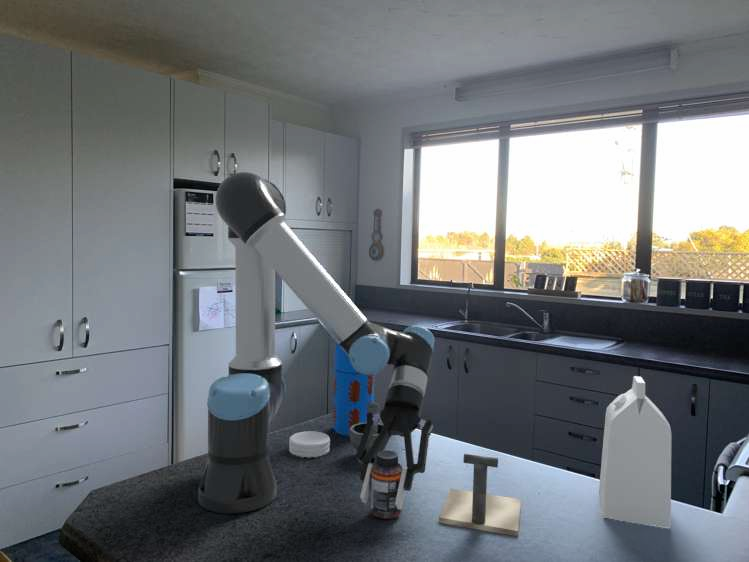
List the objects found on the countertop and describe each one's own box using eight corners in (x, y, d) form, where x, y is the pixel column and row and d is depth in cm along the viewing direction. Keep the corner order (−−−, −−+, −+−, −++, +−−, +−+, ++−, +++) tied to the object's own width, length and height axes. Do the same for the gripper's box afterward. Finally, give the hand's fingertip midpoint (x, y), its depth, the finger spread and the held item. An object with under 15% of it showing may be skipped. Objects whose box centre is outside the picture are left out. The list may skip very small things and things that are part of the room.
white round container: (280, 451, 134) (280, 437, 134) (308, 441, 142) (309, 427, 142) (310, 462, 128) (310, 447, 128) (338, 450, 136) (338, 436, 136)
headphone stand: (439, 523, 100) (441, 453, 100) (450, 493, 113) (453, 430, 112) (517, 537, 96) (520, 464, 96) (521, 504, 109) (523, 439, 108)
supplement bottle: (383, 501, 107) (385, 445, 107) (407, 512, 104) (410, 453, 103) (363, 512, 103) (365, 453, 102) (388, 523, 99) (390, 462, 98)
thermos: (380, 428, 152) (382, 339, 151) (358, 439, 143) (361, 345, 142) (348, 421, 158) (350, 335, 157) (325, 431, 149) (327, 340, 148)
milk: (670, 529, 100) (678, 390, 99) (602, 518, 104) (609, 383, 103) (659, 501, 112) (666, 375, 110) (598, 492, 115) (605, 370, 114)
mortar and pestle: (385, 466, 126) (386, 415, 125) (345, 462, 128) (346, 412, 127) (392, 449, 137) (393, 402, 136) (355, 445, 139) (356, 399, 138)
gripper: (452, 407, 114) (434, 520, 99) (366, 397, 120) (337, 502, 105) (449, 388, 109) (429, 504, 94) (359, 378, 114) (327, 486, 100)
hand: (380, 503), depth 100 cm, fingers closed on supplement bottle, 6 cm apart
